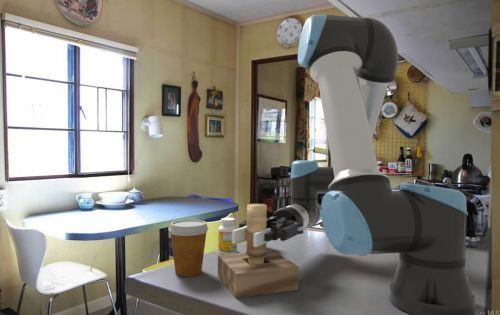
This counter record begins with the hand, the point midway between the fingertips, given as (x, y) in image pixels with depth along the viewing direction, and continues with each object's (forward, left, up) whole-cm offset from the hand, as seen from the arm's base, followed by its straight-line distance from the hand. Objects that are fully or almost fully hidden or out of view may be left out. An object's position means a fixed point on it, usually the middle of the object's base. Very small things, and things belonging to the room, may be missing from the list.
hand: (244, 238), depth 80 cm
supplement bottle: (+29, -5, -11) cm, 32 cm away
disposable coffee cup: (+15, +9, -11) cm, 21 cm away
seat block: (+3, -4, -11) cm, 12 cm away
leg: (+3, -4, -10) cm, 11 cm away
